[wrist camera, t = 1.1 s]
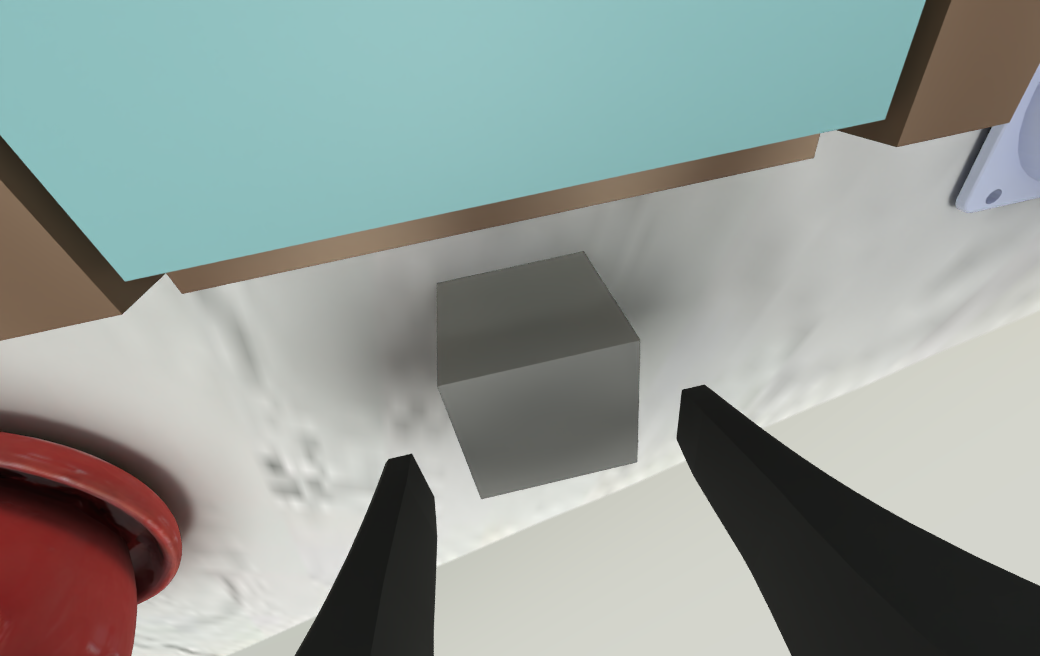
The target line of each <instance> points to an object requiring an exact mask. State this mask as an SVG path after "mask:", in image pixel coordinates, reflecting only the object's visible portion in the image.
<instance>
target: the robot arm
mask: <svg viewBox="0 0 1040 656" xmlns="http://www.w3.org/2000/svg"><path fill="white" fill-rule="evenodd" d="M1036 198H1040V64H1039V66H1038V68H1037V70H1036V72H1035V74H1034V76H1033V77H1032V79H1031V81H1030V83H1029V85H1028V87H1027V89H1026V91H1025V93H1024V95H1023V97H1022V99H1021V101H1020V103H1019V105H1018V107H1017V109H1016V111H1015V113H1014V115H1013V117H1012V119H1011V121H1010V123H1006V124H1001V125H997V126H992V128H991V130H990V132H989V134H988V136H987V138H986V140H985V142H984V144H983V146H982V148H981V150H980V152H979V154H978V156H977V158H976V160H975V162H974V164H973V166H972V168H971V171H970V173H969V175H968V177H967V179H966V181H965V183H964V185H963V187H962V189H961V191H960V193H959V195H958V197H957V200H956V203H955V205H956V208H957V209H958V210H961V211H963V212H966V213H973V212H978V211H982V210H986V209H991V208H995V207H1000V206H1004V205H1009V204H1013V203H1018V202H1022V201H1027V200H1031V199H1036ZM677 441H678V443H679V446H680V448H681V450H682V452H683V455H684V457H685V459H686V461H687V463H688V465H689V467H690V469H691V472H692V474H693V476H694V477H695V479H696V481H697V482H698V484H699V486H700V487H701V489H702V491H703V492H704V494H705V496H706V497H707V499H708V501H709V502H710V504H711V506H712V507H713V509H714V511H715V512H716V514H717V515H718V517H719V519H720V520H721V522H722V524H723V525H724V527H725V529H726V530H727V532H728V534H729V535H730V537H731V539H732V540H733V542H734V543H735V545H736V547H737V548H738V550H739V552H740V553H741V555H742V557H743V559H744V560H745V562H746V564H747V566H748V567H749V569H750V571H751V573H752V575H753V577H754V579H755V581H756V583H757V585H758V587H759V589H760V591H761V593H762V595H763V597H764V599H765V601H766V603H767V605H768V607H769V609H770V611H771V613H772V615H773V617H774V619H775V622H776V624H777V626H778V628H779V630H780V632H781V634H782V636H783V639H784V641H785V643H786V645H787V647H788V649H789V651H790V653H791V655H792V656H1040V586H1039V585H1037V584H1035V583H1032V582H1030V581H1028V580H1026V579H1023V578H1021V577H1019V576H1017V575H1015V574H1013V573H1011V572H1008V571H1006V570H1004V569H1002V568H1000V567H998V566H995V565H993V564H991V563H989V562H987V561H985V560H982V559H980V558H978V557H976V556H974V555H972V554H970V553H968V552H966V551H964V550H962V549H960V548H958V547H956V546H954V545H952V544H951V543H948V542H947V541H945V540H942V539H941V538H939V537H936V536H935V535H933V534H931V533H929V532H927V531H925V530H923V529H921V528H919V527H917V526H915V525H913V524H911V523H909V522H908V521H906V520H904V519H902V518H900V517H899V516H896V515H895V514H893V513H891V512H890V511H888V510H886V509H884V508H882V507H881V506H879V505H877V504H875V503H874V502H872V501H870V500H869V499H867V498H865V497H864V496H862V495H860V494H859V493H857V492H855V491H853V490H852V489H850V488H849V487H847V486H845V485H844V484H842V483H841V482H839V481H837V480H836V479H834V478H832V477H831V476H829V475H828V474H826V473H825V472H823V471H822V470H820V469H819V468H817V467H816V466H814V465H813V464H811V463H810V462H808V461H807V460H805V459H804V458H802V457H801V456H799V455H798V454H797V453H795V452H794V451H792V450H791V449H789V448H788V447H787V446H785V445H784V444H782V443H781V442H780V441H778V440H777V439H776V438H774V437H773V436H771V435H770V434H769V433H767V432H766V431H764V430H763V429H762V428H760V427H759V426H758V425H756V424H755V423H754V422H752V421H751V420H750V419H748V418H747V417H746V416H745V415H743V414H742V413H741V412H739V411H738V410H737V409H735V408H734V407H733V406H732V405H730V404H729V403H728V402H726V401H725V400H724V399H723V398H721V397H720V396H719V395H717V394H716V393H715V392H714V391H712V390H711V389H710V388H708V387H707V386H706V385H701V386H696V387H692V388H688V389H684V390H682V394H681V403H680V412H679V421H678V430H677ZM436 558H437V527H436V513H435V500H434V496H433V494H432V492H431V490H430V488H429V486H428V484H427V482H426V480H425V478H424V476H423V474H422V472H421V470H420V468H419V466H418V464H417V462H416V461H415V459H414V457H413V455H412V454H408V455H404V456H400V457H396V458H391V459H388V461H387V462H386V464H385V466H384V469H383V472H382V475H381V477H380V480H379V482H378V485H377V488H376V490H375V493H374V495H373V498H372V500H371V503H370V505H369V508H368V510H367V513H366V515H365V517H364V520H363V522H362V524H361V527H360V529H359V531H358V533H357V536H356V538H355V540H354V542H353V545H352V547H351V549H350V551H349V554H348V556H347V558H346V560H345V562H344V564H343V566H342V568H341V570H340V572H339V574H338V576H337V578H336V580H335V582H334V584H333V586H332V588H331V590H330V592H329V594H328V596H327V598H326V600H325V602H324V604H323V606H322V608H321V610H320V612H319V613H318V615H317V617H316V619H315V621H314V623H313V624H312V626H311V628H310V630H309V632H308V633H307V635H306V637H305V639H304V641H303V642H302V644H301V646H300V647H299V649H298V651H297V652H296V654H295V656H434V653H433V652H434V610H435V609H434V608H435V585H436Z"/></svg>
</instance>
